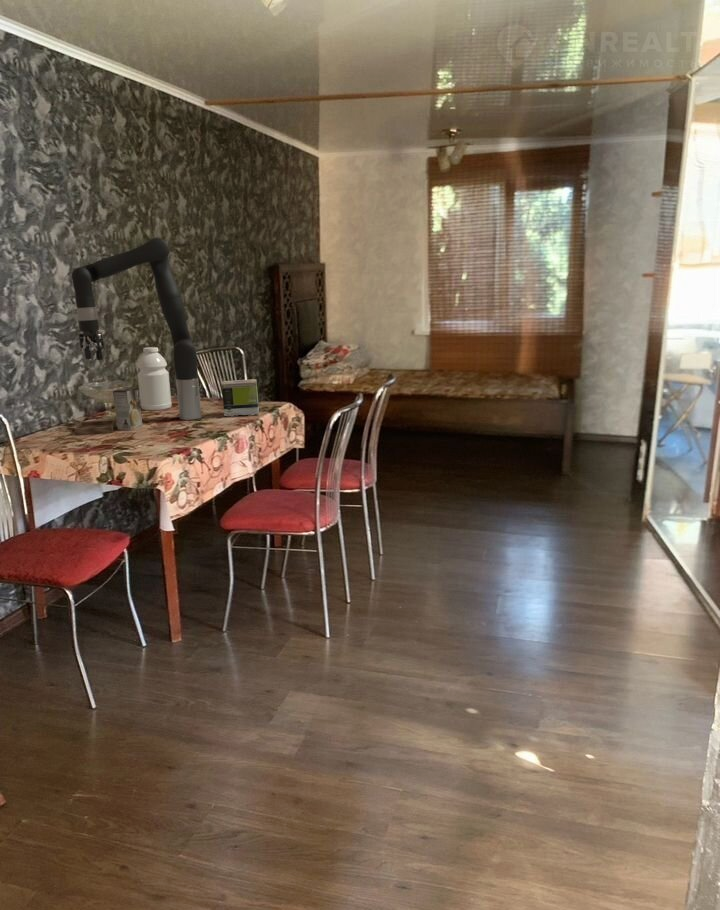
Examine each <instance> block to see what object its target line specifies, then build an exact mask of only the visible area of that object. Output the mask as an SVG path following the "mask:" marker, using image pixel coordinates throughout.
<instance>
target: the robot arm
mask: <svg viewBox="0 0 720 910" xmlns="http://www.w3.org/2000/svg"><path fill="white" fill-rule="evenodd" d="M170 250H171V248H170V245H169V243H168V242H167V241H166V240H165V239H163V238H161V237H152V238H151V239H149V240H148V241H146V242H145V243H144V244H141V245H140V246H137V247H135V248H133V249H130V250H127V251H124V252H121V253H117V254H114V255H110V256H107V257H105V258H102V259H99V260H96V261H95V262H92V263H89V264H86V265H82V266H79V267H76V268H74V269H73V271H72V272H71V279H72V280H71V281H72V284H73V289H74V293H75V306H76V314H77V315H76V316H77V317H76V318H77V322H78V329H79V332H80V333H78V339H79V341H78V342H79V347H80V349H82V350H83V351H84V357H85V360H91V359H92V353H91V346H92V347H93V348H94V350H95V354H96V355H95V356H96V360H97V361H101V360H103V352H102V351H103V349H105V343H104V336H103V334H102V333H98V331H99V330H100V323H99V317H98V310H97V308H96V302H95V296H94V293H93V283H94V282H97V281H99V280H103V279H106V278H109V277H113V276H115V275H117V274H120V273H122V272H125V271H127V270H129V269H132V268H133V267H136V266H139V265H142V264H147V263H149V265H150V269H151V271H152V274H153V277H154V283H155V289H156V294H157V297H158V301H159V305H160V309H161V311H162V314H163V317H164V319H165V320H164V321H165V322H166V325H167V326H168V329H169V331H170V335H171V340H172V345H173V351H172V352H173V362H174V373H175V382H176V393H177V394H176V395H177V403H178V415H179V419H180V420H184V421H185V420H186V421H187V420H188V421H190V420H197V419H202V408H201V407H202V406H201V395H200V386H199V385H200V383H199V371H198V362H197V349H196V346H195V344H194V342H193V340H192V337H191V334H190V332H189V328H188V324H187V315H186V310H185V305H184V302H183V296H182V293H181V291H180V289H179V285H178V284H177V281H176V280H175V277H174V275H173V272H172V269H171V265H170V259H169V255H170Z"/></svg>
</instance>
